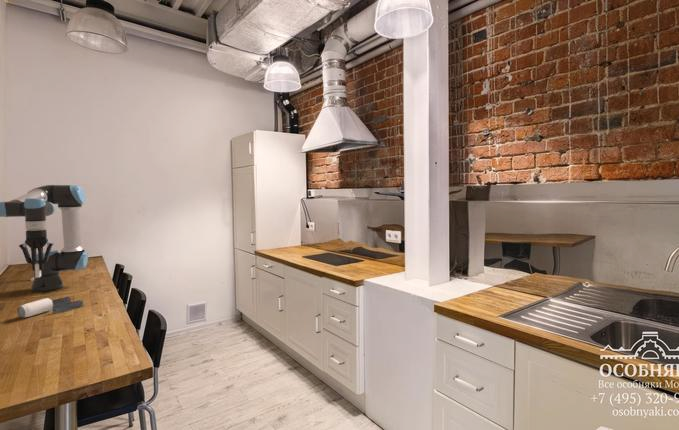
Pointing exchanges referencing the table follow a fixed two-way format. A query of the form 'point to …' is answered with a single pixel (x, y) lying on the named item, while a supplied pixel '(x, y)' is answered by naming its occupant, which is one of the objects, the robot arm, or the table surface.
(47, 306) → the can
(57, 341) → the table surface
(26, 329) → the table surface
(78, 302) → the slot guide
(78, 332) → the table surface
